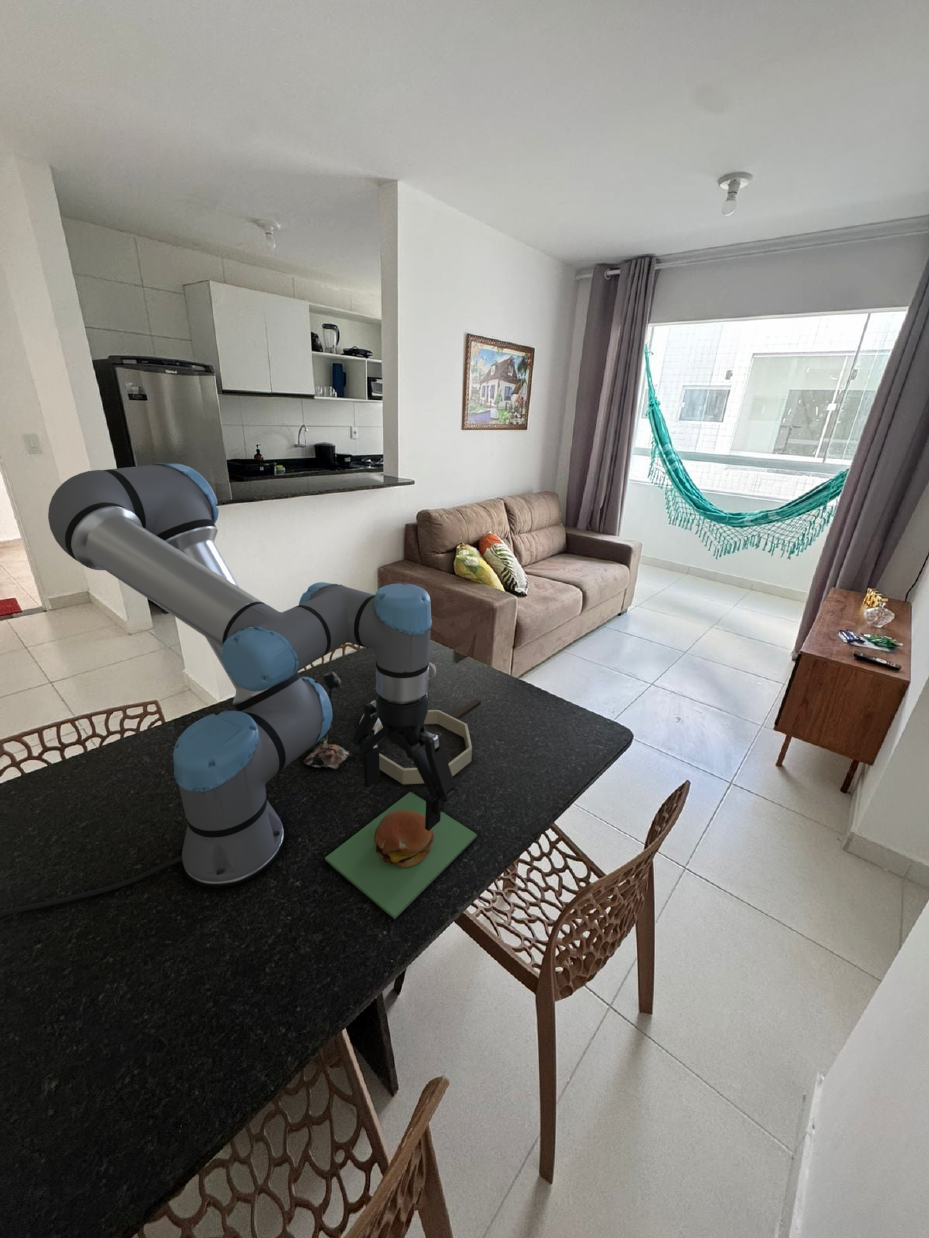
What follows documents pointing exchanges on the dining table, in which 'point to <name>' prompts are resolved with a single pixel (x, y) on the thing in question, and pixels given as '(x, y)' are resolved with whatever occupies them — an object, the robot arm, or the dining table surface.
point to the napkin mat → (389, 880)
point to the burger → (403, 838)
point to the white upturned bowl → (375, 723)
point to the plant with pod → (323, 752)
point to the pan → (447, 722)
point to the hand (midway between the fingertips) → (401, 803)
